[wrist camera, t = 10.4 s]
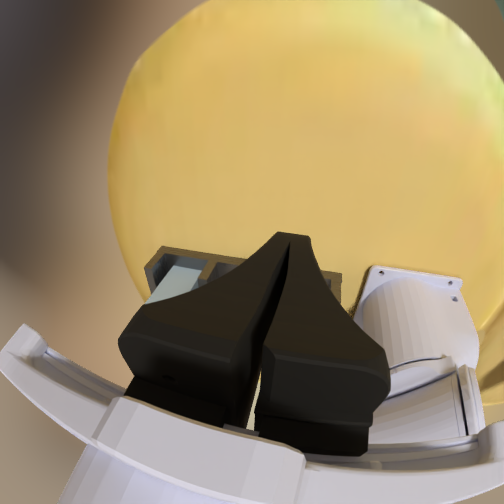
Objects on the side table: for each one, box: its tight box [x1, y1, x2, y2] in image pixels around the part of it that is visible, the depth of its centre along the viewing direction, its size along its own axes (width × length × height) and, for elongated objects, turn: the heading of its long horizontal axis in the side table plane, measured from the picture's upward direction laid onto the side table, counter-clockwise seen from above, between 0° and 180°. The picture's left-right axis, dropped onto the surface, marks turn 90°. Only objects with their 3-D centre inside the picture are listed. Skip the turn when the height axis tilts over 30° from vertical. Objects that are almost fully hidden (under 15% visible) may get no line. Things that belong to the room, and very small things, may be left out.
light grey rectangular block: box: [145, 266, 202, 304], centre depth 24 cm, size 3×7×6 cm, turn 179°
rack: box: [144, 246, 342, 303], centre depth 25 cm, size 17×10×4 cm, turn 89°
